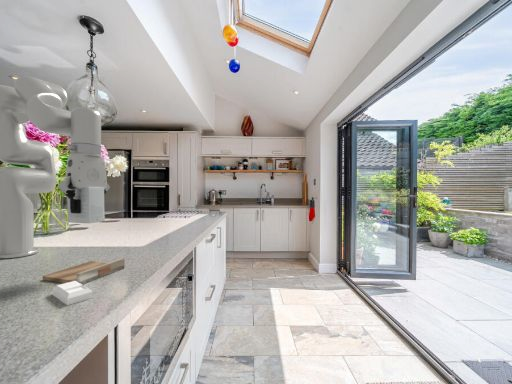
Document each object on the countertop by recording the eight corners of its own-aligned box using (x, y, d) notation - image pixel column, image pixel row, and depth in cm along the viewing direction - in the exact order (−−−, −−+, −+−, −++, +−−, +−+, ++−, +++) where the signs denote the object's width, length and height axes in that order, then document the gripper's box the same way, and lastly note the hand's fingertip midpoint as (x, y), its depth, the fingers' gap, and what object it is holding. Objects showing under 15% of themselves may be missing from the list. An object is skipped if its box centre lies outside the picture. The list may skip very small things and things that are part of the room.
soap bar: (76, 289, 65) (76, 279, 65) (92, 299, 60) (92, 288, 60) (52, 296, 61) (52, 285, 61) (67, 307, 56) (67, 295, 56)
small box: (105, 221, 79) (105, 186, 79) (88, 223, 74) (88, 186, 74) (84, 220, 82) (84, 186, 81) (67, 222, 76) (66, 186, 76)
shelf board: (42, 279, 70) (42, 268, 70) (91, 264, 85) (91, 254, 85) (80, 285, 67) (80, 274, 67) (124, 268, 81) (125, 258, 81)
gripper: (65, 146, 68) (65, 215, 68) (120, 154, 84) (120, 210, 85) (46, 147, 70) (46, 214, 71) (102, 155, 87) (102, 209, 87)
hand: (86, 211), depth 78 cm, fingers closed on small box, 5 cm apart
